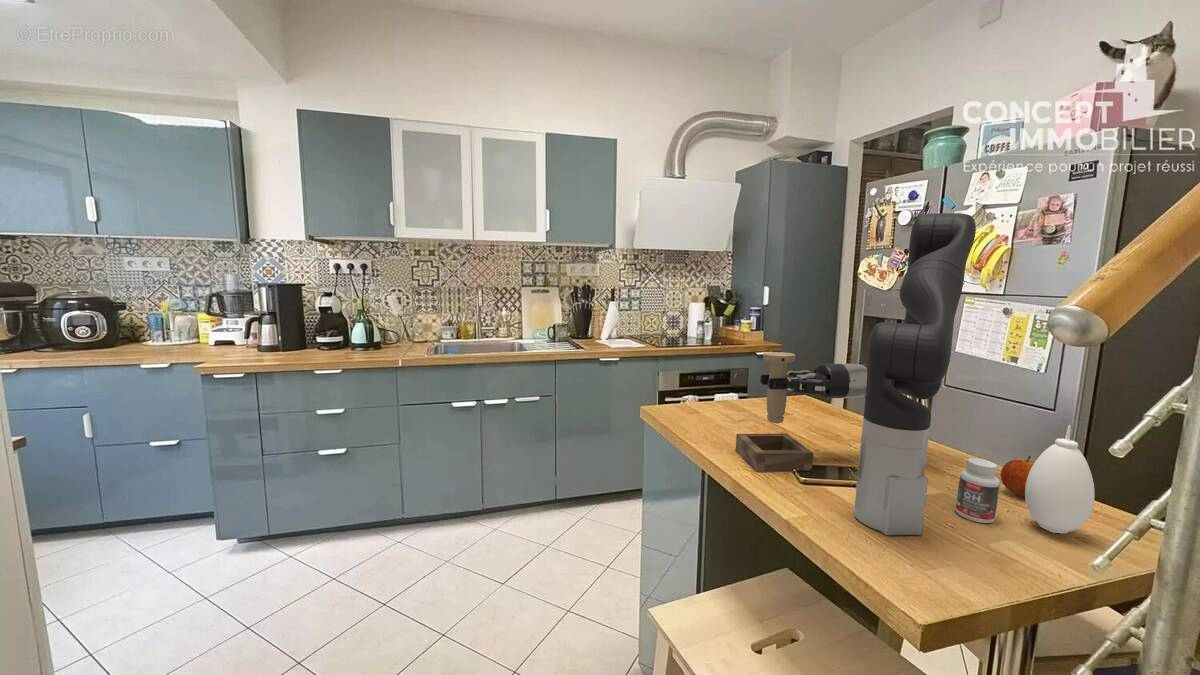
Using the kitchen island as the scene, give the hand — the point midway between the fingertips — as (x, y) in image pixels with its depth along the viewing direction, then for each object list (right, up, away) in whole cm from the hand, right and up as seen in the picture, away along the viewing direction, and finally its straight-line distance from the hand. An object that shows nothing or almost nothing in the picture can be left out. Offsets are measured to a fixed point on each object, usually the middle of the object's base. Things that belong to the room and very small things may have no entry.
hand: (765, 381), depth 102 cm
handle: (+3, -9, +2) cm, 10 cm away
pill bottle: (+29, -22, -20) cm, 41 cm away
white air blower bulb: (+38, -22, -24) cm, 51 cm away
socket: (+2, -18, +3) cm, 18 cm away
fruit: (+45, -21, -12) cm, 51 cm away
